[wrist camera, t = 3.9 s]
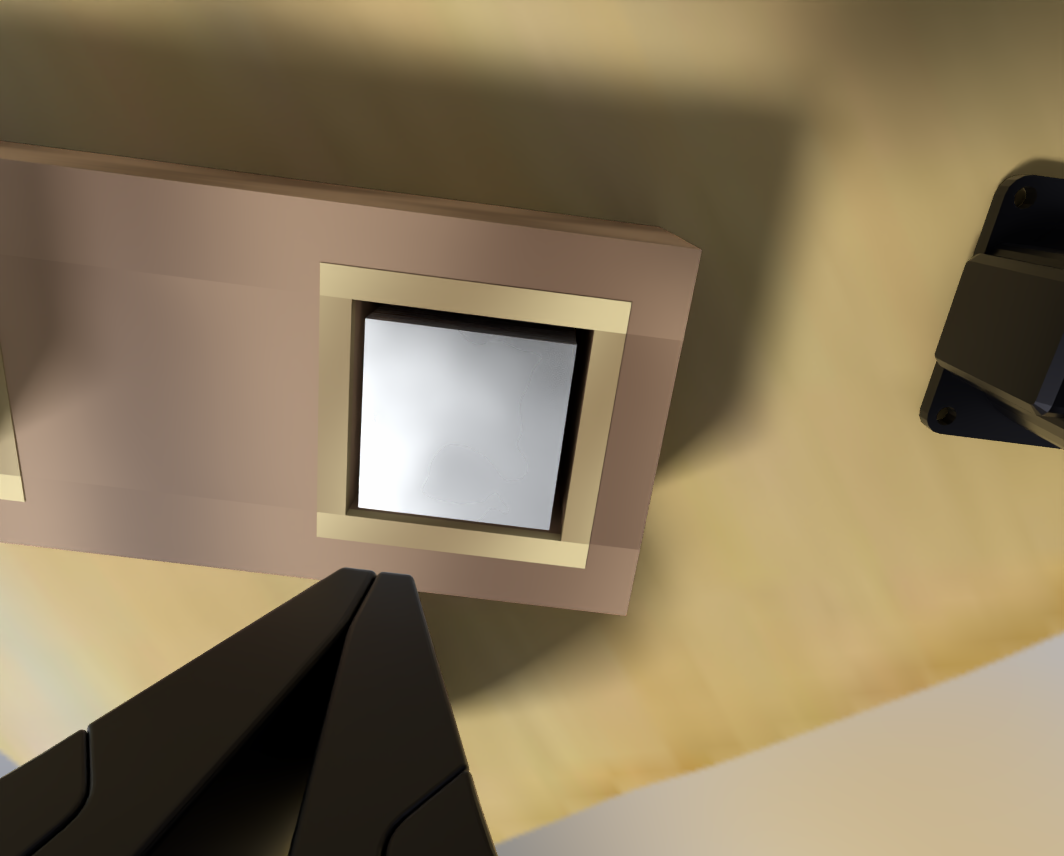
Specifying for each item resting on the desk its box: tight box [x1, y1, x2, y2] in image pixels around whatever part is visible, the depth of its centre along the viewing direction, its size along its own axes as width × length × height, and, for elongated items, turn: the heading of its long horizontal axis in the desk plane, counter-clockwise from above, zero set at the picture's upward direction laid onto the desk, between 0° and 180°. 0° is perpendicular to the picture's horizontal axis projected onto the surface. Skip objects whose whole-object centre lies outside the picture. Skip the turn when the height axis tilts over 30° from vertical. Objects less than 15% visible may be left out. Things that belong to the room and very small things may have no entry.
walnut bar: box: [0, 141, 702, 616], centre depth 16 cm, size 20×8×5 cm, turn 83°
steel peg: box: [358, 303, 577, 530], centre depth 16 cm, size 4×4×5 cm
